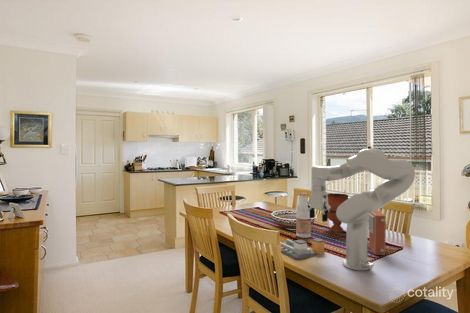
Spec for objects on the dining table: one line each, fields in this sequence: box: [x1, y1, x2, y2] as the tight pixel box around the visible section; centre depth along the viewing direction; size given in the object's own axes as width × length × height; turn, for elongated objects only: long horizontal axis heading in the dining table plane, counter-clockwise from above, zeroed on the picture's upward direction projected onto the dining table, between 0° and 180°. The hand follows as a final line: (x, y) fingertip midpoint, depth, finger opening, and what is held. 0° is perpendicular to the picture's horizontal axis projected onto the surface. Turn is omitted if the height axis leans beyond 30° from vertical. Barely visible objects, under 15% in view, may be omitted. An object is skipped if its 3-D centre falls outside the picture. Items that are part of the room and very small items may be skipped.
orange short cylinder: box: [311, 237, 325, 255], centre depth 166 cm, size 5×5×7 cm
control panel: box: [368, 210, 387, 256], centre depth 167 cm, size 21×7×15 cm
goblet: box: [324, 192, 350, 233], centre depth 208 cm, size 19×19×25 cm
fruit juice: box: [295, 192, 312, 239], centre depth 195 cm, size 9×9×28 cm
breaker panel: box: [280, 238, 317, 260], centre depth 168 cm, size 22×13×4 cm, turn 28°
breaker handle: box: [293, 238, 308, 251], centre depth 162 cm, size 5×5×5 cm
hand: (318, 219), depth 165 cm, fingers open, 9 cm apart
